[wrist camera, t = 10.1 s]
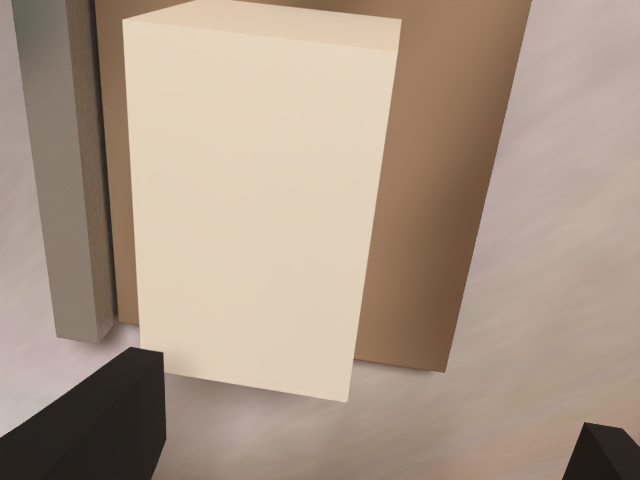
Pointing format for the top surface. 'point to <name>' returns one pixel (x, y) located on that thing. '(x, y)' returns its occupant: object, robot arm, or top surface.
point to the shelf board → (397, 163)
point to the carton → (256, 186)
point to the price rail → (69, 161)
